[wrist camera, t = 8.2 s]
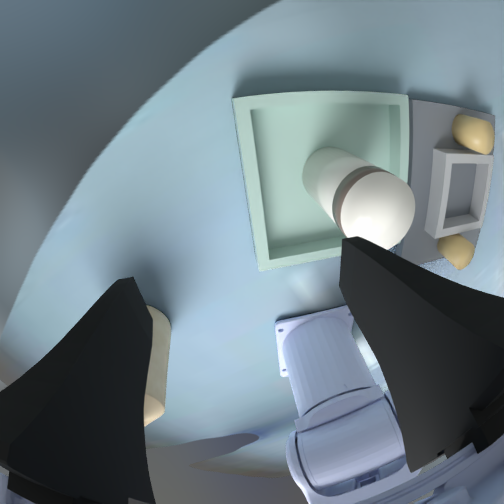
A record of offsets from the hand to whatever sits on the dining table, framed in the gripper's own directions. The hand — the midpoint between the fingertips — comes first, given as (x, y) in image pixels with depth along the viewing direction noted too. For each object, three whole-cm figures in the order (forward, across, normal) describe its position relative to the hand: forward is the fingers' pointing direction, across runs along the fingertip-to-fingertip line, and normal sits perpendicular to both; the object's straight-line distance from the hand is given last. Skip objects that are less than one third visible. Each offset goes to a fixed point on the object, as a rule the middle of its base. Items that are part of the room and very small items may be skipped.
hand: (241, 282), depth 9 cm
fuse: (+10, -7, 0) cm, 12 cm away
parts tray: (+10, -7, 0) cm, 13 cm away
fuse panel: (+10, -20, +2) cm, 23 cm away
